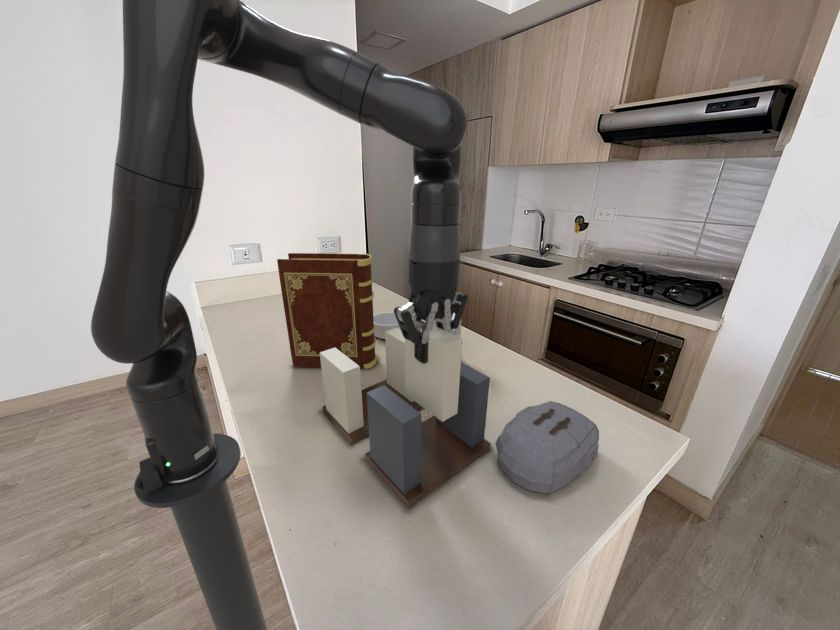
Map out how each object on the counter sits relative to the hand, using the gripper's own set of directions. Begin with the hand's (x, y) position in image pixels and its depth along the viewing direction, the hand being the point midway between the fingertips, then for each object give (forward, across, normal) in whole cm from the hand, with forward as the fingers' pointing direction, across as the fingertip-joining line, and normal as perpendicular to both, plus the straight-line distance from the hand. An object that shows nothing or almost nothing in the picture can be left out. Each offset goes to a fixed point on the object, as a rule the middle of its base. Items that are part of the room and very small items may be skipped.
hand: (431, 357), depth 56 cm
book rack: (+21, 0, -9) cm, 23 cm away
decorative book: (+21, -3, -43) cm, 48 cm away
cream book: (+9, 0, 0) cm, 9 cm away
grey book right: (+19, -8, 0) cm, 21 cm away
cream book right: (+19, -8, -18) cm, 28 cm away
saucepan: (+21, -29, -49) cm, 61 cm away
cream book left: (+19, +8, -18) cm, 28 cm away
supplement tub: (+21, -26, -24) cm, 41 cm away
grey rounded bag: (+21, -16, +14) cm, 30 cm away
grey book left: (+19, +8, 0) cm, 21 cm away
